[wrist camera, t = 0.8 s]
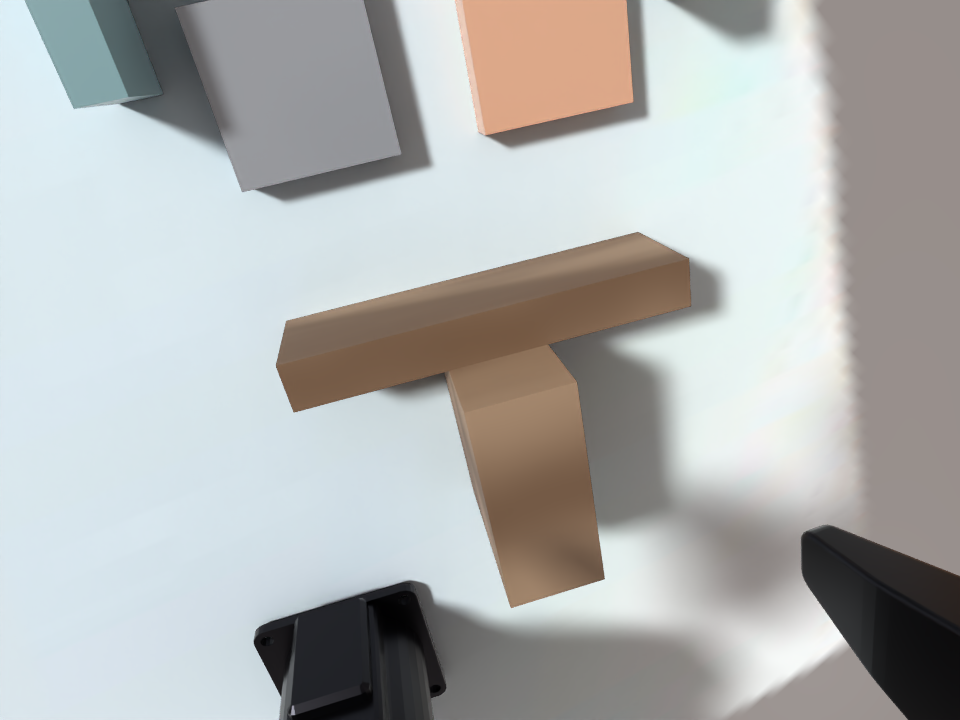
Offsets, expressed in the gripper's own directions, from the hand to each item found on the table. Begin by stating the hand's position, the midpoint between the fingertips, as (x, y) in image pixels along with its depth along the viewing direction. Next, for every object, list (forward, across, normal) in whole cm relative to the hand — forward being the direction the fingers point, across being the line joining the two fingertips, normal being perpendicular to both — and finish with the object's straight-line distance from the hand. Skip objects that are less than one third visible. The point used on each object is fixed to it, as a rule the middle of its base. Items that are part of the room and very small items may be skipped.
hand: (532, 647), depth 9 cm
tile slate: (+13, +1, -8) cm, 16 cm away
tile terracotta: (+13, -6, -8) cm, 17 cm away
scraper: (+13, -2, +3) cm, 14 cm away
